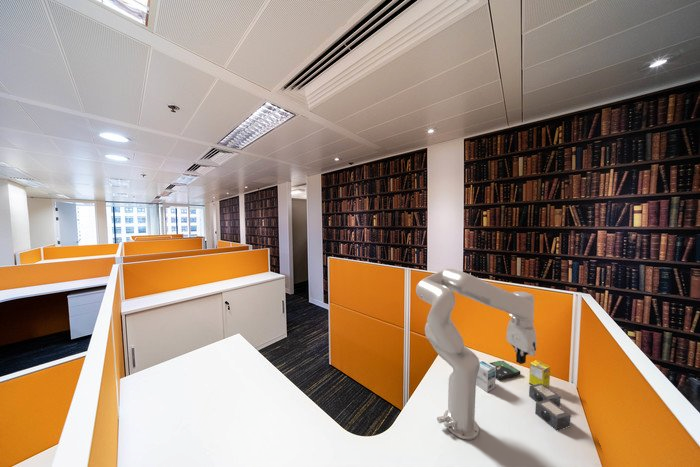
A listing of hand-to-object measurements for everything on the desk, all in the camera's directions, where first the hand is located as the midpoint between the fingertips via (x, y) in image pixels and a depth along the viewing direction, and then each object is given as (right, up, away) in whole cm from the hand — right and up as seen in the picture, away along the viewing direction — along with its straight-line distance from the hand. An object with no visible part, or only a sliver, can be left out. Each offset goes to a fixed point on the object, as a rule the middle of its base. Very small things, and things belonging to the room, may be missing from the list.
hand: (520, 362), depth 97 cm
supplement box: (+19, -20, +14) cm, 31 cm away
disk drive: (+7, -20, +24) cm, 32 cm away
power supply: (+14, -20, +4) cm, 25 cm away
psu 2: (+9, -21, -5) cm, 23 cm away
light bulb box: (-8, -20, +15) cm, 26 cm away
